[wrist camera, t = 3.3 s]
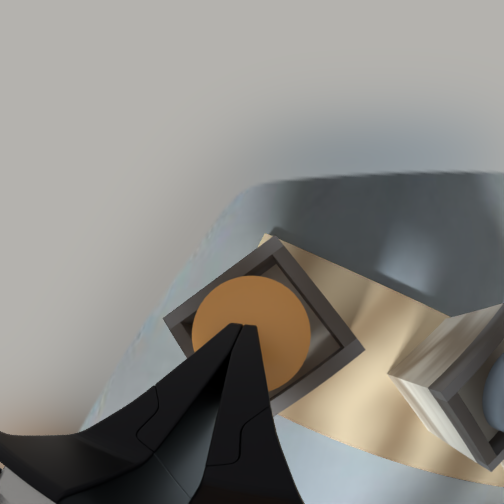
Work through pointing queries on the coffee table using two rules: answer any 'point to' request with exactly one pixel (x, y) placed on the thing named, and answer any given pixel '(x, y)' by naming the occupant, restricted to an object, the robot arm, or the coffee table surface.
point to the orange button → (259, 322)
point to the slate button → (494, 395)
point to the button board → (380, 366)
